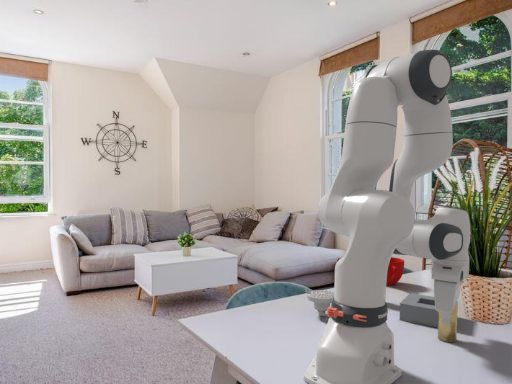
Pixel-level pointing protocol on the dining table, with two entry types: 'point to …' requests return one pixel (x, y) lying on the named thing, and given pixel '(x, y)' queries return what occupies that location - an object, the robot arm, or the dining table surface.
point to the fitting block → (419, 310)
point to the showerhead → (320, 300)
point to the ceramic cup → (394, 270)
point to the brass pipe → (448, 327)
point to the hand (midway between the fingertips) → (447, 321)
